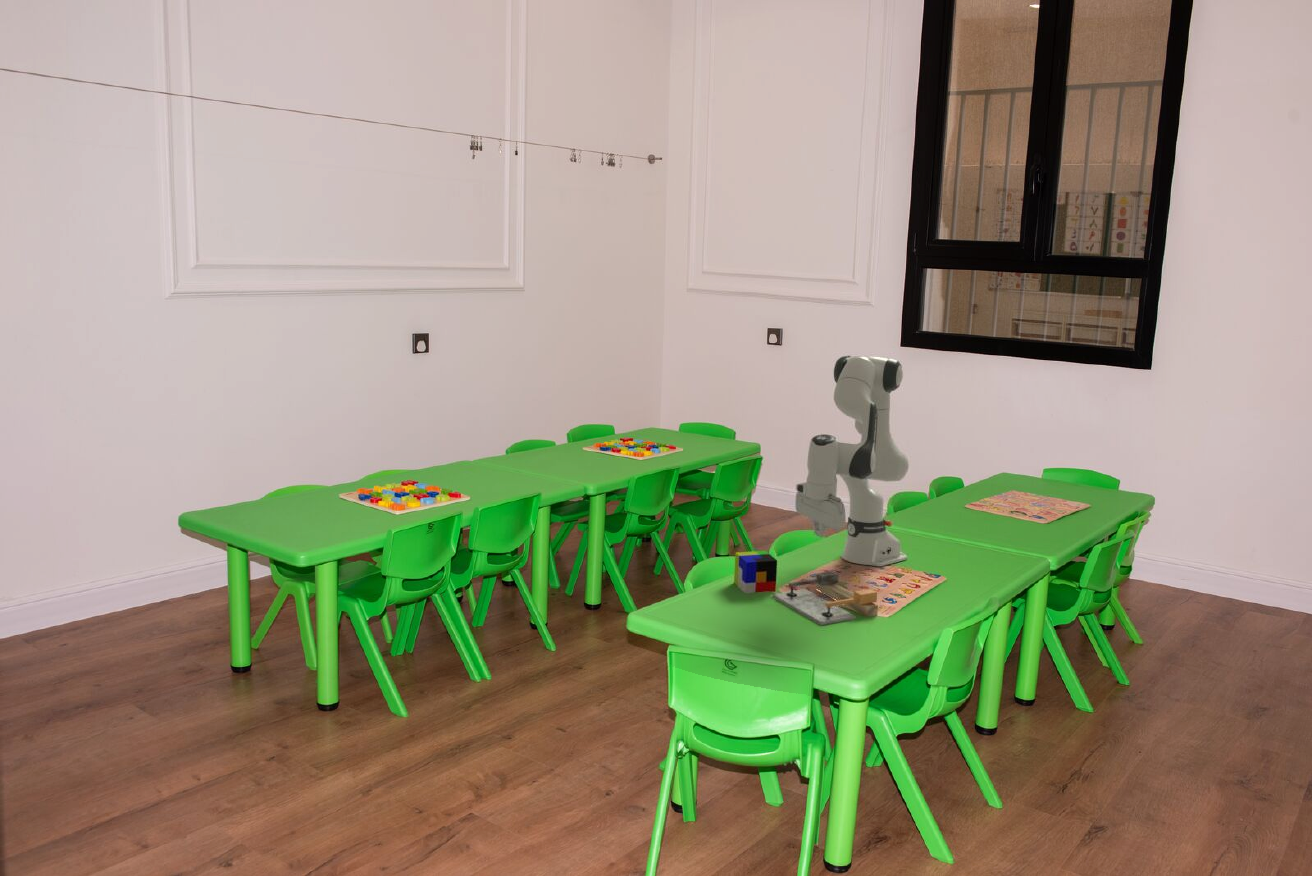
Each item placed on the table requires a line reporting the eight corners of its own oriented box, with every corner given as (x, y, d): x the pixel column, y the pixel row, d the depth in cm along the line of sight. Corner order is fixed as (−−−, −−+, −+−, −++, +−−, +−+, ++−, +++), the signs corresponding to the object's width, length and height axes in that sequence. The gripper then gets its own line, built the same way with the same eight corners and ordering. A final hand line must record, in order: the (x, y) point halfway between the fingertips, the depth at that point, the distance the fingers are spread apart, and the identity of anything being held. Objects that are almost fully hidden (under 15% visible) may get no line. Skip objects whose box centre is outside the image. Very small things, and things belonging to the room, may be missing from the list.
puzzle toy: (745, 593, 319) (746, 562, 317) (734, 583, 328) (735, 552, 326) (775, 591, 322) (777, 560, 320) (763, 581, 331) (765, 550, 329)
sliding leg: (869, 604, 308) (870, 588, 307) (876, 607, 305) (877, 592, 304) (822, 612, 300) (823, 596, 299) (828, 615, 298) (829, 600, 297)
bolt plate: (805, 591, 322) (805, 588, 321) (855, 619, 300) (855, 615, 300) (772, 597, 316) (772, 593, 316) (821, 625, 295) (821, 621, 294)
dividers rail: (828, 588, 326) (829, 569, 325) (880, 614, 304) (881, 595, 303) (783, 595, 318) (784, 576, 317) (832, 623, 296) (833, 603, 295)
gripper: (852, 498, 298) (849, 544, 301) (809, 481, 315) (807, 524, 318) (834, 501, 295) (831, 547, 298) (792, 483, 312) (790, 527, 315)
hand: (819, 535), depth 308 cm, fingers closed
